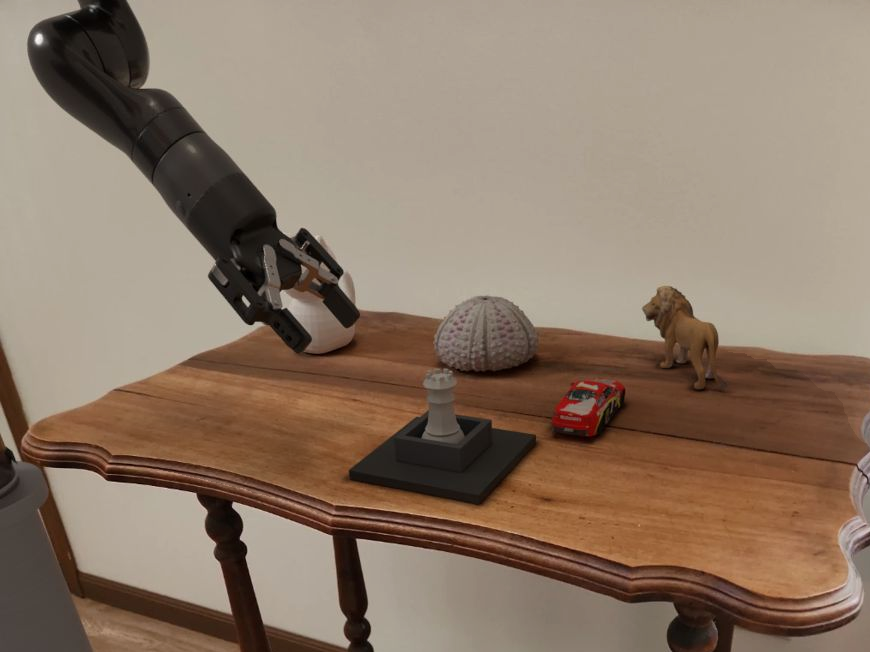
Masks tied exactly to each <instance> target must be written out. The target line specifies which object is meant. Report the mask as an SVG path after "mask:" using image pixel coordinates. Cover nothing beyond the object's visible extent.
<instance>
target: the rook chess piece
mask: <svg viewBox="0 0 870 652" xmlns="http://www.w3.org/2000/svg"><path fill="white" fill-rule="evenodd" d="M433 370H434V373H433ZM433 370H432V369H429V370H427V373H425V379H424V381H423V383H422V385H423V387H424V388H425V390H426V391H427V396H426V398H425V400H426V401H427V402H428V410H429V414H428V423H427V426H426V428H425V430H426V431H425V432H424V433H423V435H422V439H428V440H435V441H441V442H447V443H453V444H458V443H459V442H460V441H461V440H462V439H463V438H464V437H465V436H464V433H463V431H462V430H461V429H460V426H459V424H457V421H456V416H455V414H456V410H455V403H454V401H455V400H456V396H455V394H454V388H455V387H456V386H457V383H458V381H457V379H456V378H455V376H454V372H453V371H452V370H450V369H449V368H446V367H445V368H443V371H442V372H440V368H438V367H437V368H434V369H433Z"/></svg>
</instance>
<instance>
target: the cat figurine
mask: <svg viewBox="0 0 870 652" xmlns="http://www.w3.org/2000/svg"><path fill="white" fill-rule="evenodd" d="M281 232H282V233H284V234H285V235H286V236H288V237H289V238H292V237H294V236H295V235H294V234H292V233H290V232H287V231H281ZM314 238H315V239H316V240H317V241H318V242H319V243H320V245H321V246H322V247H323V248H324V249H325V250H326V251H327V252H328V253H329V254H330V256H331V257H332V258H333V259H334V260H335V261H336V262H337V263H338V261H337V258H336V255H335V253H334V252H333V250H332V249H331V248H330V246H328V244H327V243H326V241H325V239H324V237H323V236H322V235H320V234H317V235H315V236H314ZM301 267H302V275H303V273H304V272H305V270H306V269H307V268H306V267H304V266H302V265H301ZM320 267H321V268H323V269H324V270H326V271H328V272H329V271H330V270H329V269H328V268H327V267H326V265H325V264H324V263H323V262H322V263H321V265H320ZM343 271H344V274H343V275H342V276H341V278H340V279H341V284H342V288H343V292H344V293H345V294H346V296H347V297H348V298H349V299H350V300H351V301H352V303H353V304H354V305H355V306H356V289H355V283H354V280H353V277H352V275H351V273H349V271H348V270H346V269H343ZM302 275H301V276H302ZM312 282H314V283H316V284H318V285H321V284H320V282H319V281H318V280H317V279H316V278H314V279H313V280H312ZM283 291H284V292H285V293H286V294H287V295H288V296H289V297H291V298H292V299H291V301H290V303H289V306H288V310H289V311H290V312H291V313H292V315H293V316H294V317H295V318H296V319H297V320H298V321H299V323H300V324H301V325H302V326H303V327H304V328H305V330H306V331H307V332H308V333H309V334H310V335H311V337H312V341H311V343H310V344H309V346H308V347H307V348H306V349H305V351H303V352H302V353H308V354H316V355H319V354H326V353H329V352H332V351H334V350H337V349H340V348H343V347H345V346H347V345H348V344H349V343H351V342H352V340H353V339H354V336H355V330H356V325H355V324H356V323H354V325H353V326H351V327H349V328H345V327H343V325H342V324H341V323H340V322H339V321H338V320H337V318H336V317H335V316H334V315H333V314H332V313H331V311H330V310H329V309H328V308H327V307H326V306H325V305H324V303H323V302H322V301H323V299H321V298H319V297H317V296H315V295H313V294H311V293H310V292H308V291H305V292H299V291H297V290H295V289H293V288H291V289H289V290H283Z"/></svg>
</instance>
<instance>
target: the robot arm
mask: <svg viewBox="0 0 870 652" xmlns="http://www.w3.org/2000/svg"><path fill="white" fill-rule="evenodd" d="M77 3H78V6H79V9H77V10H73V11H68V12H65V13H62V14H58V15H55V16H51V17H48V18H44V19H43V20H41V21H39V22H37V23H36V24H35V25H33V27H32V28H31V29H30V31H29V33H28V36H27V41H26V47H27V48H26V50H27V51H26V52H27V57H28V60H29V64H30V67H31V70H32V72H33V74H34V75H35V78H36V80H37V82H38V83H39V84H40V86H41V87H42V89H43V90H44V91H45V93H46V94H47V96H49V98H50V99H51V100H52V101H53V102H54V103H55V104H56V105H57V106H58V107H60V109H62V110H63V111H64V112H65V113H67V114H68V115H69V116H70V117H72V118H73V119H75V120H76V121H77V122H79V123H80V124H81V125H83V126H85V127H86V128H87V129H89V130H90V131H92V132H93V133H94V134H96V135H97V136H99V137H100V138H102V139H103V140H104V141H105V142H106V143H109V144H110V145H111V146H113V147H114V148H116V149H118V150H119V151H121V152H122V153H123V154H124V155H126V156H127V158H128V159H129V160H130V161H131V162H132V163H133V165H134V166H135V167H136V168H137V169H138V170H139V172H140V173H141V174H142V175H143V176H144V177H145V179H147V181H148V182H149V183H150V184H151V185H152V187H154V189H155V190H156V191H157V193H158V194H159V195H160V196H161V199H163V201H164V202H165V204H166V205H167V208H169V209H170V211H171V212H172V213H173V214H174V215H175V217H176V218H177V219H178V220H179V221H180V223H182V225H183V226H184V227H185V228H186V229H187V230H188V232H189V233H190V234H191V235H192V236H193V238H194V239H196V241H197V242H198V243H199V244H200V245H201V246H202V247H203V249H204V250H205V251H206V252H207V253H208V254H209V255H210V257H211V258H212V259H213V260H214V261H215V262H214V263H213V265H212V267H211V269H210V271H209V272H208V273H207V278H208V279H209V281H210V282H211V283H212V285H213V286H214V287H215V289H216V290H217V291H218V292H219V293H220V295H222V297H223V298H224V299H225V301H226V302H227V303H228V304H229V305H230V307H231V308H232V309H233V310H234V311H235V313H236V314H237V315H238V317H239V318H240V319H241V321H243V322H244V323H245V324H246V325H247V326H254V325H255V323H261V324H262V325H264V326H269V327H270V328H271V330H273V331H274V333H276V335H277V336H278V337H279V338H280V340H281V341H283V343H284V344H285V345H286V346H287V347H288V348H289V349H291V350H292V351H293V352H294V353H295V354H297V355H298V354H299V355H300V354H301V353H304V352H303V351H305V349H306V348H307V347H308V346H309V344H310V343H311V341H312V337H311V335H310V334H309V333H308V332H307V331H306V330H305V328H304V327H303V326H302V325H301V324H300V323H299V321H298V320H297V319H296V318H295V317H294V316H293V315H292V313H291V312H290V311H289V308H288V307H284V308H283V301H282V297H281V292H282V291H284V290H289V289H291V288H293V289H295V290H297V291H299V292H305V291H308V292H310V293H311V294H313V295H315V296H317V297H319V298H321V299H323V301H322V302H323V303H324V305H325V306H326V307H327V308H328V309H329V310H330V311H331V313H332V314H333V315H334V316H335V317H336V318H337V320H338V321H339V322H340V323H341V324H342V325H343V327H345V328H349V327H351V326H353V325H354V324H356V322H357V321H358V320H359V319H360V317H361V312H360V310H359V309H358V307H357V306H356V304H355V305H354V304H353V303H352V301H351V300H350V299H349V298H348V297H347V296H346V294H345V293H344V290H342V288H341V287H340V286H339V281H340V279H341V276H342V275H343V274H344V271H343V270H344V269H343V267H342V266H341V265H340V264H339V263H338V261H337V260H336V261H337V262H336V261H335V260H334V259H333V258H332V257H331V256H330V254H329V253H328V252H327V251H326V250H325V249H324V248H323V247H322V246H321V245H320V243H319V242H318V241H317V240H316V239H315V236H313V235H312V233H311V232H310V231H309V230H308V229H306V228H304V227H300V228H299V230H298V232H297V233H295V235H294V237H292V238H289V237H288V236H286V235H285V234H284V233H282V232H283V231H282V230H280V228H279V227H278V222H277V218H278V216H277V211H276V209H275V207H274V206H273V205H272V204H271V203H270V202H269V200H268V199H267V198H266V196H264V194H263V193H262V192H261V191H260V190H259V189H258V187H257V186H256V185H255V184H254V182H252V180H251V179H250V178H249V176H247V174H246V173H245V172H244V171H243V170H242V169H241V168H240V167H239V165H238V164H237V163H236V162H235V161H234V160H233V158H232V157H231V156H230V155H229V153H227V152H226V151H225V150H224V149H223V147H222V146H220V145H219V144H217V142H215V140H213V138H212V137H211V136H210V135H208V133H207V132H206V131H205V129H203V127H202V126H201V125H200V124H199V123H198V121H197V120H196V119H195V118H194V117H193V115H192V114H191V113H190V112H189V111H188V110H187V108H186V107H185V106H184V105H183V104H182V103H181V102H180V101H179V99H177V98H176V97H175V96H174V95H173V94H172V93H170V92H169V91H167V90H164V89H161V88H155V87H153V88H150V87H149V88H147V87H146V88H143V86H145V84H146V82H147V80H148V78H149V74H150V70H151V69H150V68H151V67H150V66H151V65H150V64H151V57H150V48H149V45H148V41H147V39H146V36H145V33H144V30H143V29H142V27H141V24H140V22H139V20H138V18H137V17H136V15H135V12H134V10H133V9H132V7H131V6H130V5H131V4H130V3H129V1H128V0H77ZM322 262H323V263H324V264H325V265H326V267H327V268H328V269H329V270H330V271H329V272H328V271H326V270H324V269H323V268H321V267H320V265H321V263H322ZM301 265H302V266H304V267H306V268H307V269H306V270H305V272H304V273H303V275H302V267H301ZM301 275H302V276H301ZM314 278H316V279H317V280H318V281H319V282H320V284H321V285H318V284H316V283H314V282H312V280H313V279H314ZM243 297H244V298H245V300H246V301H247V302H248V303H249V305H248V306H247V304H246V303H245V302H244V300H243ZM12 461H14V462H15V463H16V464H17V462H16V461H17V460H16V457H15V454H14V451H13V450H12V449H11V448H9V447H8V446H6V444H5V441H4V438H3V436H2V433H0V498H2V497H4V496H6V495H7V494H9V493H10V492H11V491H13V490H14V489H15V488H16V486H17V485H18V483H19V476H18V473H17V471H16V469H15V468H14V466H13V464H12ZM17 465H18V464H17Z"/></svg>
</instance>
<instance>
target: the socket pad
mask: <svg viewBox="0 0 870 652" xmlns="http://www.w3.org/2000/svg"><path fill="white" fill-rule="evenodd" d="M428 414H429V409H428V410H427V411H425V412H424V413H423V414H421V415H420V416H415V417H414V418H413V419H412V420H411V421H409V422H408V423H406V424H405V425H403V426H402V427H401V428H400V429H399V430H397V431H396V432H395V433H394V434H393V435H391V436H390V437H389V438H387V439H386V440H385V441H384V442H382V443H381V444H380V445H379V446H377V447H376V448H375V449H373V450H371V452H370V453H369V454H367V455H366V456H364V457H363V458H362V459H361V460H360V461H358V462H357V463H355V465H353V466H352V467H350V468H349V469H348V477H349V480H352V481H359V482H363V483H368V484H374V485H377V486H383V487H389V488H392V489H393V488H394V489H398V490H399V489H400V490H404V491H409V492H414V493H419V494H425V495H430V496H435V497H440V498H445V499H450V500H456V501H460V502H465V503H471V504H475V505H480V504H481V503H482V502H483V501H484V500H485V499H486V498H487V497H488V496H489V495H490V494H491V492H493V490H494V489H495V488H496V487H497V486H498V485H499V484H500V483H501V482H502V480H504V478H505V477H507V476H508V474H509V473H510V472H511V471H512V470H513V469H514V468H515V467H516V465H518V464H519V462H520V461H521V460H522V459H523V458H524V457H525V456H526V455H527V453H529V452H530V450H532V448H533V447H534V446H535V445H536V444H537V434H534V433H528V432H521V431H515V430H509V429H508V430H507V429H502V428H495V427H493V420H492V419H490V418H483V417H476V416H470V415H464V414H457V413H455V416H456V421H457V424H459V426H460V429H461V430H462V431H463V433H464V436H465V437H464V438H463V439H462V440H461V441H460V442H459V443H458V444H453V443H447V442H441V441H435V440H428V439H422V435H423V433H424V432H425V431H426V430H425V428H426V426H427V423H428Z"/></svg>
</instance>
